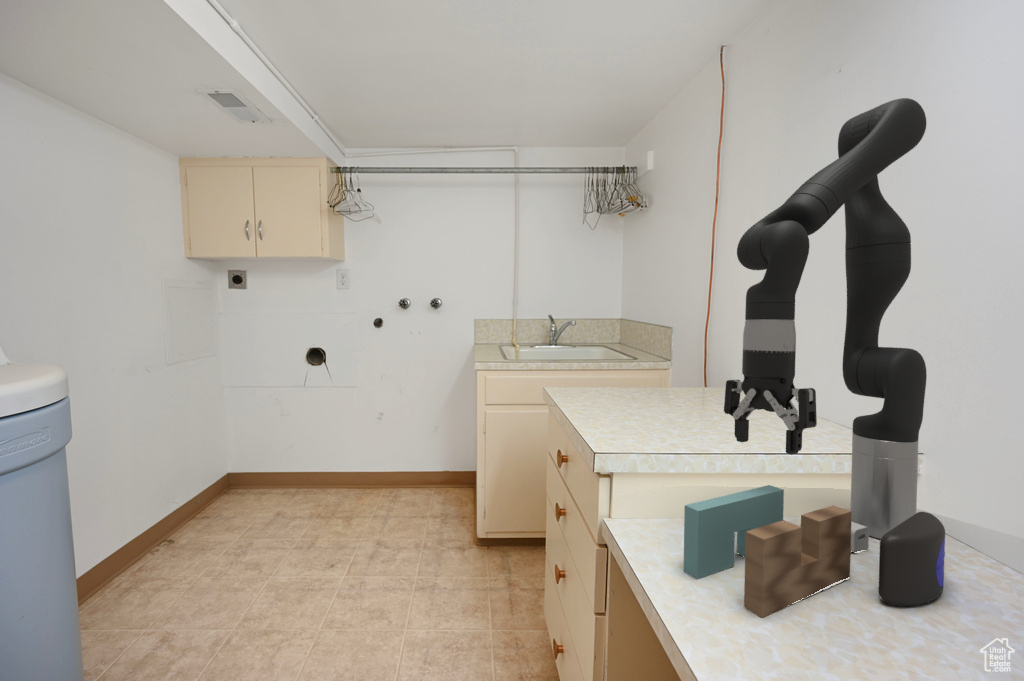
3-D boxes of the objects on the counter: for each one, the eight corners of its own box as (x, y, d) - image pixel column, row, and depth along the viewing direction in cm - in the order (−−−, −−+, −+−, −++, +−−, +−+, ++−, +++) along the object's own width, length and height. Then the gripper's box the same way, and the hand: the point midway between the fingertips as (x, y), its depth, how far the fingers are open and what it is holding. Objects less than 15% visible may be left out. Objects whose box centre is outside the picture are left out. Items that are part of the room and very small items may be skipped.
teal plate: (683, 571, 69) (684, 505, 69) (768, 543, 78) (769, 485, 78) (697, 579, 67) (698, 511, 66) (782, 549, 76) (783, 489, 76)
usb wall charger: (853, 555, 74) (854, 530, 74) (810, 537, 81) (811, 514, 81) (868, 550, 76) (869, 526, 76) (825, 533, 82) (825, 511, 82)
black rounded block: (919, 621, 58) (922, 546, 57) (875, 602, 61) (877, 532, 61) (957, 582, 67) (959, 517, 66) (916, 568, 70) (918, 507, 70)
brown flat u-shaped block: (831, 571, 69) (833, 505, 69) (849, 579, 67) (851, 511, 67) (744, 607, 60) (745, 531, 60) (762, 618, 58) (763, 539, 58)
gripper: (828, 350, 70) (825, 455, 71) (744, 346, 83) (741, 436, 83) (799, 350, 67) (795, 461, 67) (715, 346, 79) (713, 440, 80)
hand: (765, 447), depth 75 cm, fingers open, 8 cm apart
